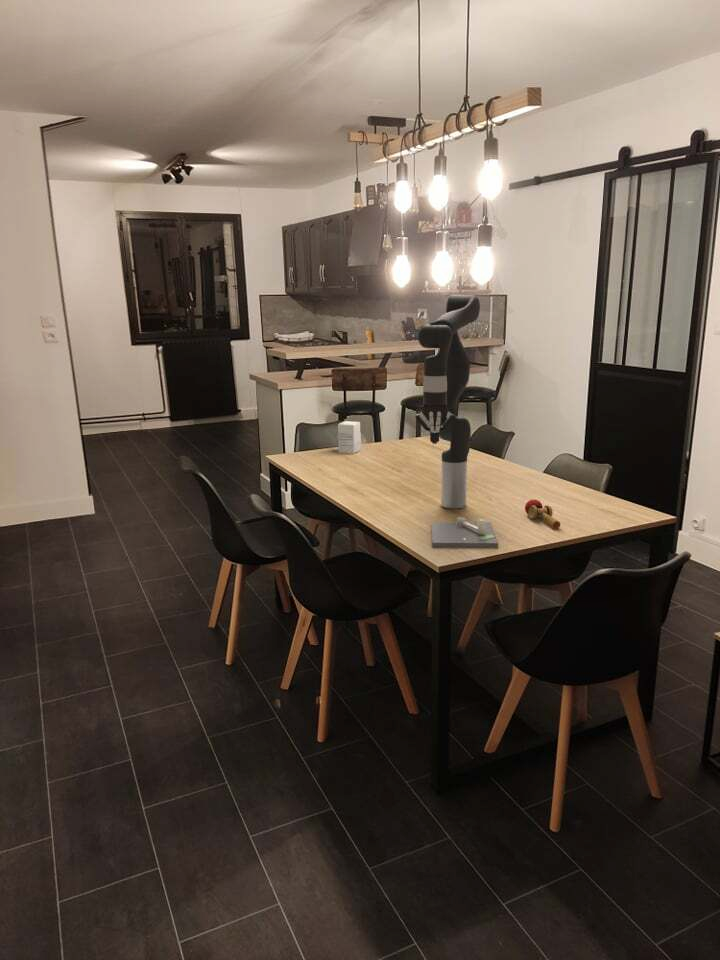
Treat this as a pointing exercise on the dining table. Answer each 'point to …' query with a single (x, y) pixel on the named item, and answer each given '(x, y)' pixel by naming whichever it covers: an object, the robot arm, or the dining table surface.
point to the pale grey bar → (481, 525)
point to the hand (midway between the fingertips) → (434, 443)
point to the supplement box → (349, 436)
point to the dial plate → (462, 536)
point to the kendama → (541, 512)
